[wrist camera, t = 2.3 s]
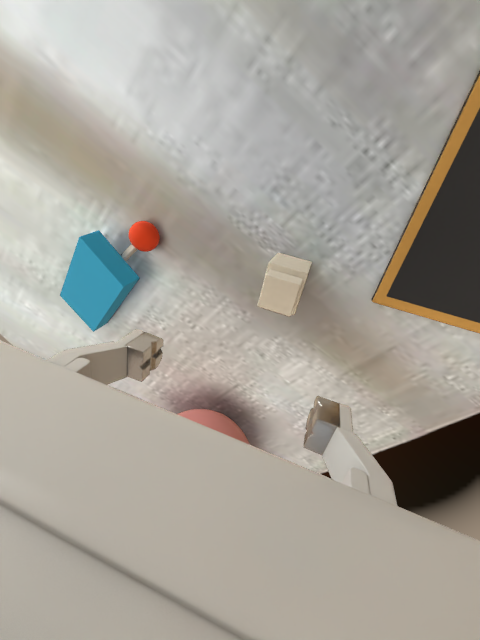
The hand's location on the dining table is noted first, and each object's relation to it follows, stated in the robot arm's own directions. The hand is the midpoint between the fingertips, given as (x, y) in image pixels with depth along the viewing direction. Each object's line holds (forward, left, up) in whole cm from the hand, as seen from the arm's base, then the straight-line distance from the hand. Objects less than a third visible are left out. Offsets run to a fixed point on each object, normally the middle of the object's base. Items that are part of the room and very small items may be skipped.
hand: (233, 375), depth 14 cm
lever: (+6, -22, -20) cm, 30 cm away
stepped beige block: (0, 0, -19) cm, 19 cm away
